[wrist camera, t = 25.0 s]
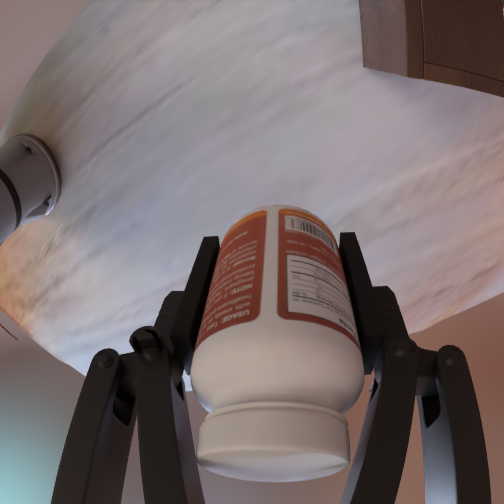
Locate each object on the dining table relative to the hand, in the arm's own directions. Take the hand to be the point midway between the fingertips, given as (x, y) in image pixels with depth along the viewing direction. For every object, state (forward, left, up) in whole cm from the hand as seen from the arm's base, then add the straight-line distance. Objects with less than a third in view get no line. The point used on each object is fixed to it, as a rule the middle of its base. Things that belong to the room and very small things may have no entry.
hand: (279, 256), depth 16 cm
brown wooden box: (+9, +17, -15) cm, 24 cm away
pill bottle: (0, 0, -1) cm, 1 cm away
